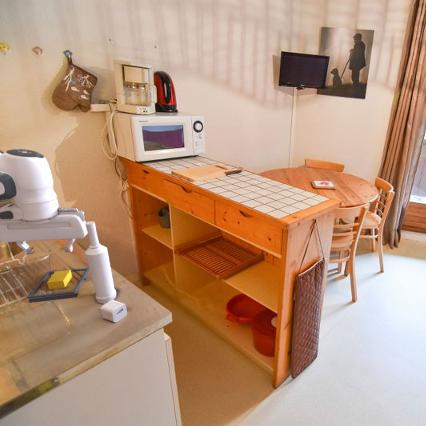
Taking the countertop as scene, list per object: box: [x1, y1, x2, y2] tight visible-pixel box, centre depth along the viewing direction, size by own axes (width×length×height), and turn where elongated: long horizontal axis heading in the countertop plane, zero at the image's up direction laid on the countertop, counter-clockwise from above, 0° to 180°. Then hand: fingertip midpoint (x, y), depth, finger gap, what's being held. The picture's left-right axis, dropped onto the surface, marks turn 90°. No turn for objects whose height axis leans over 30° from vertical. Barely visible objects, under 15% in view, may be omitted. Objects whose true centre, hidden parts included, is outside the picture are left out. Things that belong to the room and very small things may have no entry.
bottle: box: [84, 221, 117, 305], centre depth 90 cm, size 5×5×25 cm
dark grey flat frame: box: [27, 267, 90, 304], centre depth 98 cm, size 11×13×2 cm
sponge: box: [46, 269, 73, 290], centre depth 97 cm, size 6×4×4 cm, turn 18°
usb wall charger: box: [97, 299, 128, 323], centre depth 88 cm, size 4×7×4 cm, turn 71°
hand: (49, 252), depth 93 cm, fingers open, 8 cm apart
